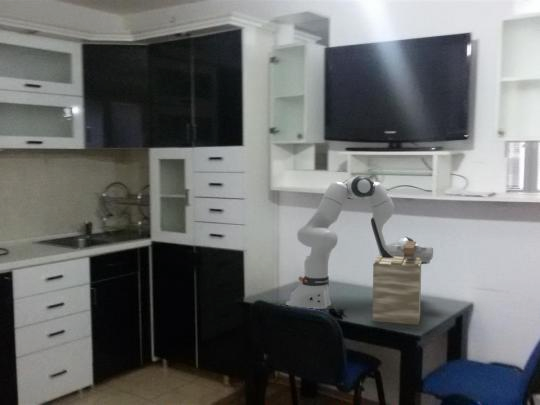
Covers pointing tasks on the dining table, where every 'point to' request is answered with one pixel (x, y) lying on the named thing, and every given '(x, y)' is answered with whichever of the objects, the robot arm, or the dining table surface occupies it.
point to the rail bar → (409, 249)
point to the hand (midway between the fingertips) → (410, 245)
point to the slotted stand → (396, 290)
